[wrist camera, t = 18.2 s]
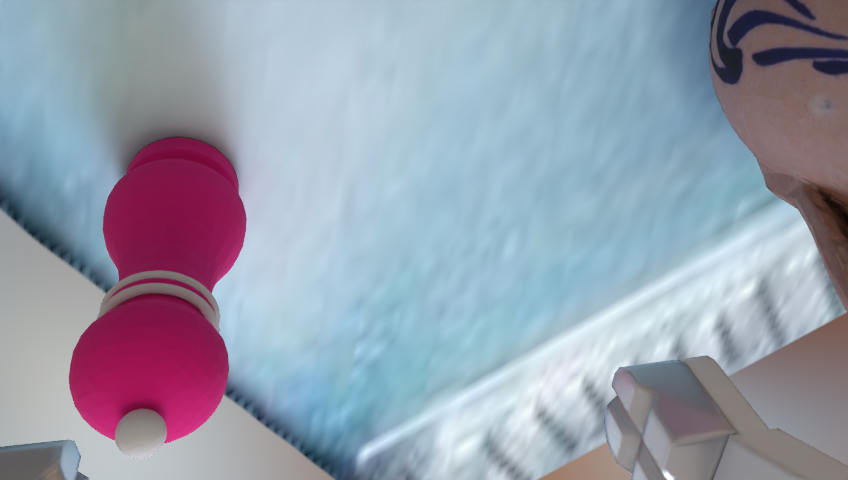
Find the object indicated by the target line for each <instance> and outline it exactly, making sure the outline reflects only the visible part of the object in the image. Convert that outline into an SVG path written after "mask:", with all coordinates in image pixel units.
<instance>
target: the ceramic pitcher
mask: <svg viewBox="0 0 848 480" xmlns="http://www.w3.org/2000/svg"><path fill="white" fill-rule="evenodd" d="M709 62H710V71H711V76H712V82H713V87H714V90H715V93H716V95H717V98H718V100H719V103H720V105H721V107H722V110H723V112H724V113H725V115H726V117H727V119H728V121H729V123H730V124H731V126H732V128H733V129H734V130H735V132H736V133H737V135H738V136H739V138H740V139H741V140H742V141H743V143H744V144H745V145H746V146H747V147H748V148H749V150H750V151H751V152H752V153H753V155H754V156H755V157H756V159H757V161H758V164H759V166H760V169H761V171H762V174H763V176H764V180H765V183H766V187H767V188H768V189H769V190H770V191H772V192H773V193H774V194H775V195H776V196H778V197H779V198H781V199H782V200H784V201H786V202H787V203H789V204H790V205H792V206H794V207H795V208H797V209H798V210H799V212H800V213H801V215H802V217H803V218H804V220H805V222H806V223H807V225H808V228H809V230H810V232H811V234H812V236H813V238H814V241H815V243H816V246H817V248H818V251H819V253H820V255H821V257H822V259H823V262H824V266H825V268H826V270H827V273H828V275H829V277H830V279H831V281H832V284H833V286H834V288H835V290H836V293H837V295H838V297H839V299H840V301H841V303H842V305H843V306H844V308H845V310H846V311H847V313H848V0H717V4H716V6H715V8H714V9H713V11H712V13H711V27H710V44H709Z"/></svg>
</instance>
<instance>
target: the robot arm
mask: <svg viewBox="0 0 848 480" xmlns="http://www.w3.org/2000/svg"><path fill="white" fill-rule="evenodd" d="M612 387H613V389H614V390H615V392H616V394H617V396H616V397H615V398H614V399H613V400H612V401H611V402H610V403H609V404H608V405H607V408H606V414H605V419H604V423H605V432H606V439H607V442H608V445H609V448H610V451H611V453H612V455H613V457H614V459H615V461H616V462H617V464H619V465H620V466H622V467H623V468H625V469H626V470H628V471H630V472H631V473H632V476H631V480H848V466H847V465H845V464H843V463H841V462H840V461H838V460H836V459H834V458H832V457H830V456H829V455H826V454H825V453H823V452H821V451H819V450H817V449H816V448H814V447H812V446H810V445H808V444H806V443H804V442H803V441H801V440H799V439H797V438H795V437H793V436H792V435H790V434H788V433H786V432H784V431H782V430H780V429H779V428H777V429H769V428H768V427H767V425H766V424H765V423H764V422H763V420H762V419H761V418H760V417H759V415H758V414H757V413H756V412H755V410H754V409H753V408H752V406H751V405H750V404H749V403H748V401H747V400H746V399H745V398H744V397H743V395H742V394H741V393H740V392H739V390H738V389H737V388H736V386H735V385H734V384H733V383H732V381H731V380H730V379H729V377H728V376H727V375H726V374H725V372H724V371H723V370H722V369H721V367H720V366H719V365H718V364H717V362H716V361H715V360H714V359H712V358H711V357H709V356H699V357H692V358H685V359H678V360H670V361H662V362H655V363H648V364H641V365H634V366H627V367H620V368H619V369H618V370H617V371H616V373H615V374H614V378H613V382H612ZM80 458H81V456H80V453H79V451H78V448H77V446H76V444H75V441H72V440H61V441H52V442H42V443H33V444H24V445H14V446H4V447H0V480H89V478H88V477H86V476H85V475H83V474H81V473H80V472H78V467H79V462H80Z"/></svg>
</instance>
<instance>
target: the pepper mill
mask: <svg viewBox="0 0 848 480" xmlns="http://www.w3.org/2000/svg"><path fill="white" fill-rule="evenodd" d="M245 232H246V213H245V209H244V206H243V203H242V200H241V198H240V196H239V194H238V180H237V176H236V173H235V170H234V169H233V167H232V165H231V164H230V162H229V161H228V160H227V159H226V157H225V156H224V155H223V154H222V153H221V152H219V151H218V150H217V149H215V148H214V147H212V146H210V145H208V144H206V143H204V142H201V141H198V140H195V139H191V138H180V137H175V138H166V139H162V140H159V141H156V142H153V143H151V144H149V145H148V146H146V147H144V148H143V149H142V150H141V151H139V152H138V154H137V155H136V156H135V157H134V158H133V160H132V161H131V163H130V165H129V167H128V170H127V174H126V175H125V176H124V177H123V178H121V179H120V180H119V181H118V183H117V184H116V185H115V187H114V188H113V190H112V192H111V193H110V195H109V197H108V200H107V203H106V207H105V212H104V220H103V233H104V238H105V243H106V248H107V250H108V253H109V255H110V257H111V259H112V260H113V262H114V264H115V265H116V267H117V269H118V273H119V282H118V283H117V284H115V285H114V286H113V287H112V288H111V289H110V290H109V291H108V292H107V294H106V296H105V297H104V299H103V301H102V303H101V307H100V313H99V315H98V318H97V320H96V321H95V322H93V323H92V324H91V325H90V326H89V327H88V328H87V330H86V331H85V332H84V333H83V334H82V335H81V337H80V339H79V342H78V343H77V345H76V347H75V349H74V351H73V356H72V360H71V365H70V374H69V384H70V391H71V394H72V397H73V401H74V404H75V407H76V408H77V410H78V411H79V413H80V414H81V416H82V417H83V419H84V420H85V421H86V422H87V423H88V424H89V425H90V426H91V427H92V428H94V429H95V430H97V431H98V432H100V433H101V434H103V435H105V436H107V437H109V438H111V439H113V440H115V441H116V444H117V447H118V448H119V450H120V451H122V452H123V453H124V454H125V455H127V456H129V457H131V458H136V459H138V458H146V457H149V456H151V455H153V454H154V453H156V452H157V451H159V449H160V448H161V447H162V446H163V444H164V443H167V442H171V441H174V440H176V439H178V438H181V437H183V436H186V435H188V434H189V433H191V432H193V431H194V430H196V429H197V428H198V427H200V426H201V425H202V424H203V423H204V422H206V421H207V419H208V418H209V417H210V416H211V415H212V414H213V412H214V411H215V409H216V408H217V406H218V405H219V403H220V402H221V399H222V397H223V394H224V391H225V389H226V384H227V379H228V373H229V364H228V353H227V350H226V347H225V343H224V341H223V339H222V337H221V336H220V334H219V321H220V314H219V308H218V305H217V302H216V300H215V298H214V297H213V295H212V290H213V288H214V286H215V284H216V283H217V282H218V281H219V280H220V279H221V278H222V277H223V276H224V275H225V274H226V273H227V272H228V271H229V270H230V269H231V267H232V266H233V265H234V263H235V261H236V259H237V258H238V256H239V253H240V251H241V249H242V247H243V242H244V237H245Z"/></svg>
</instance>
